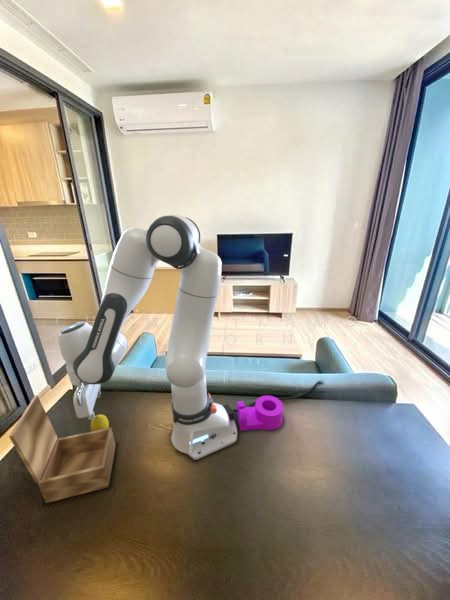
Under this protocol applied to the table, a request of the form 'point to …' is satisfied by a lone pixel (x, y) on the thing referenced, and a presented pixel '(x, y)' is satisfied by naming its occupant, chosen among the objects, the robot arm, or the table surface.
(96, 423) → the lemon
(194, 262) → the robot arm
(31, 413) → the lid
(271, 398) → the magenta bearing bracket
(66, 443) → the chest
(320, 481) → the table surface
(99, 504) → the table surface
